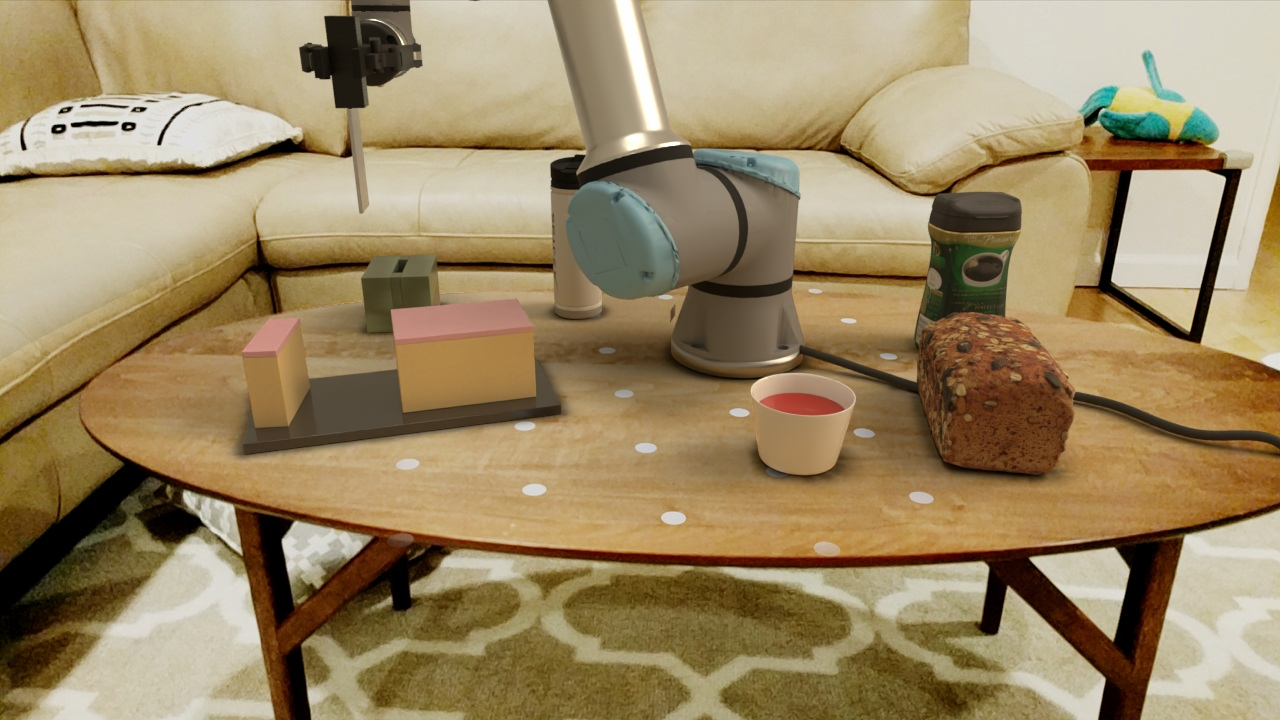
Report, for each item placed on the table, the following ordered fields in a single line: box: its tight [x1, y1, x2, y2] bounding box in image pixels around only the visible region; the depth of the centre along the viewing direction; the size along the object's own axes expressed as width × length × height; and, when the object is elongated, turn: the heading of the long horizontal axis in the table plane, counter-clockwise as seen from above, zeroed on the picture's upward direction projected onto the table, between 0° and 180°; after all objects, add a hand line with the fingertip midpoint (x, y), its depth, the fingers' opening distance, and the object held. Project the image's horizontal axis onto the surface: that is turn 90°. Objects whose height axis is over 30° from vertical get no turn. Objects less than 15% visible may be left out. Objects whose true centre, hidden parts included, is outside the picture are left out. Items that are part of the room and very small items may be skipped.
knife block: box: [360, 254, 441, 334], centre depth 110 cm, size 8×10×7 cm
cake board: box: [242, 354, 562, 455], centre depth 87 cm, size 29×14×1 cm, turn 107°
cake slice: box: [241, 317, 310, 428], centre depth 83 cm, size 3×9×8 cm, turn 7°
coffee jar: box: [913, 191, 1023, 347], centre depth 99 cm, size 10×8×19 cm
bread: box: [916, 312, 1077, 476], centre depth 81 cm, size 19×11×10 cm, turn 170°
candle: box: [749, 372, 857, 476], centre depth 76 cm, size 9×9×6 cm
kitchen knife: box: [323, 15, 370, 215], centre depth 92 cm, size 3×4×20 cm
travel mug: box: [549, 153, 603, 320], centre depth 111 cm, size 6×7×20 cm
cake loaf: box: [391, 297, 536, 413], centre depth 87 cm, size 13×9×8 cm
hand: (337, 63), depth 85 cm, fingers closed on kitchen knife, 3 cm apart
